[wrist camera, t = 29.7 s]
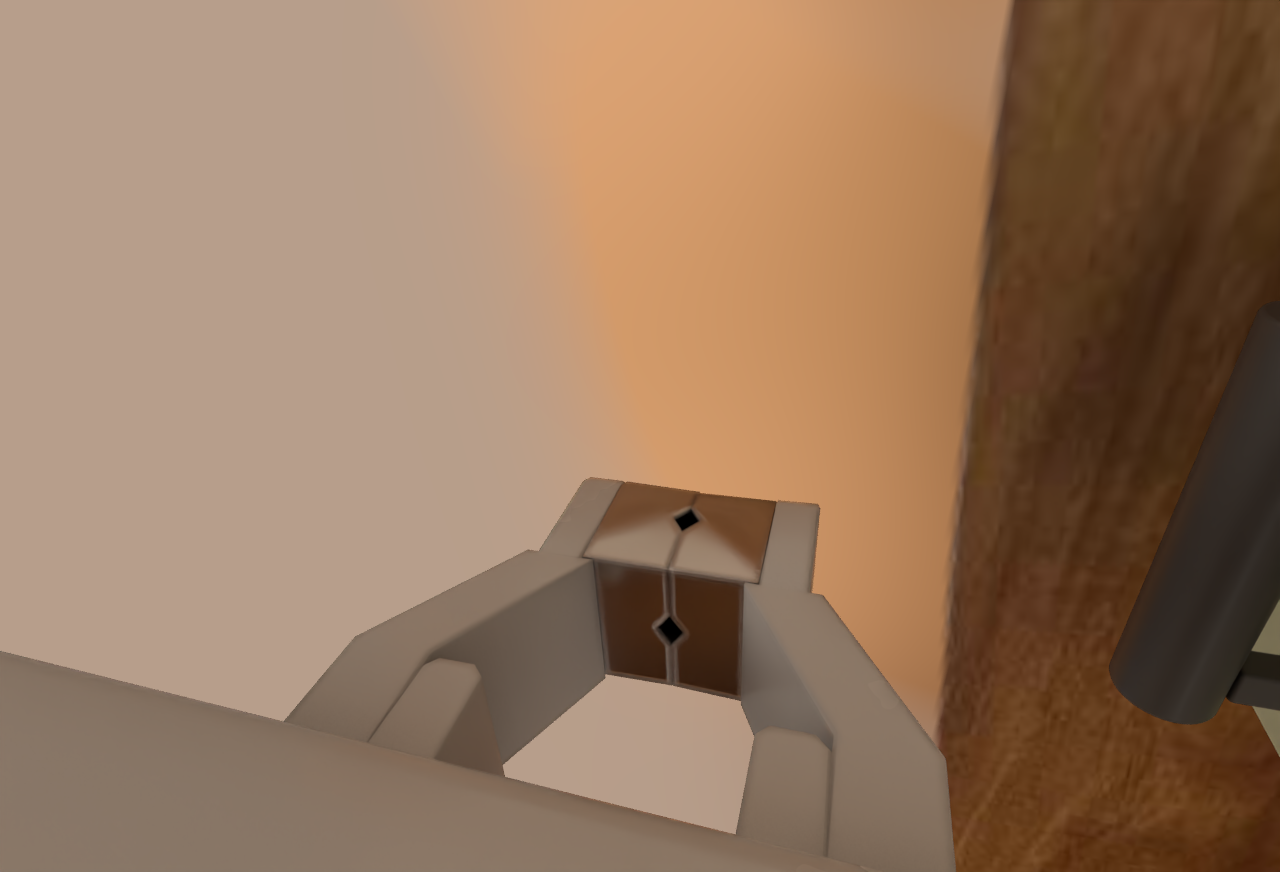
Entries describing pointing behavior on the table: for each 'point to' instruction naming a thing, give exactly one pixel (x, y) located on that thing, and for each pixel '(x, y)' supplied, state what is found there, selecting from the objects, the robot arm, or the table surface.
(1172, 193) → the table surface
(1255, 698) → the drawer
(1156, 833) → the table surface
